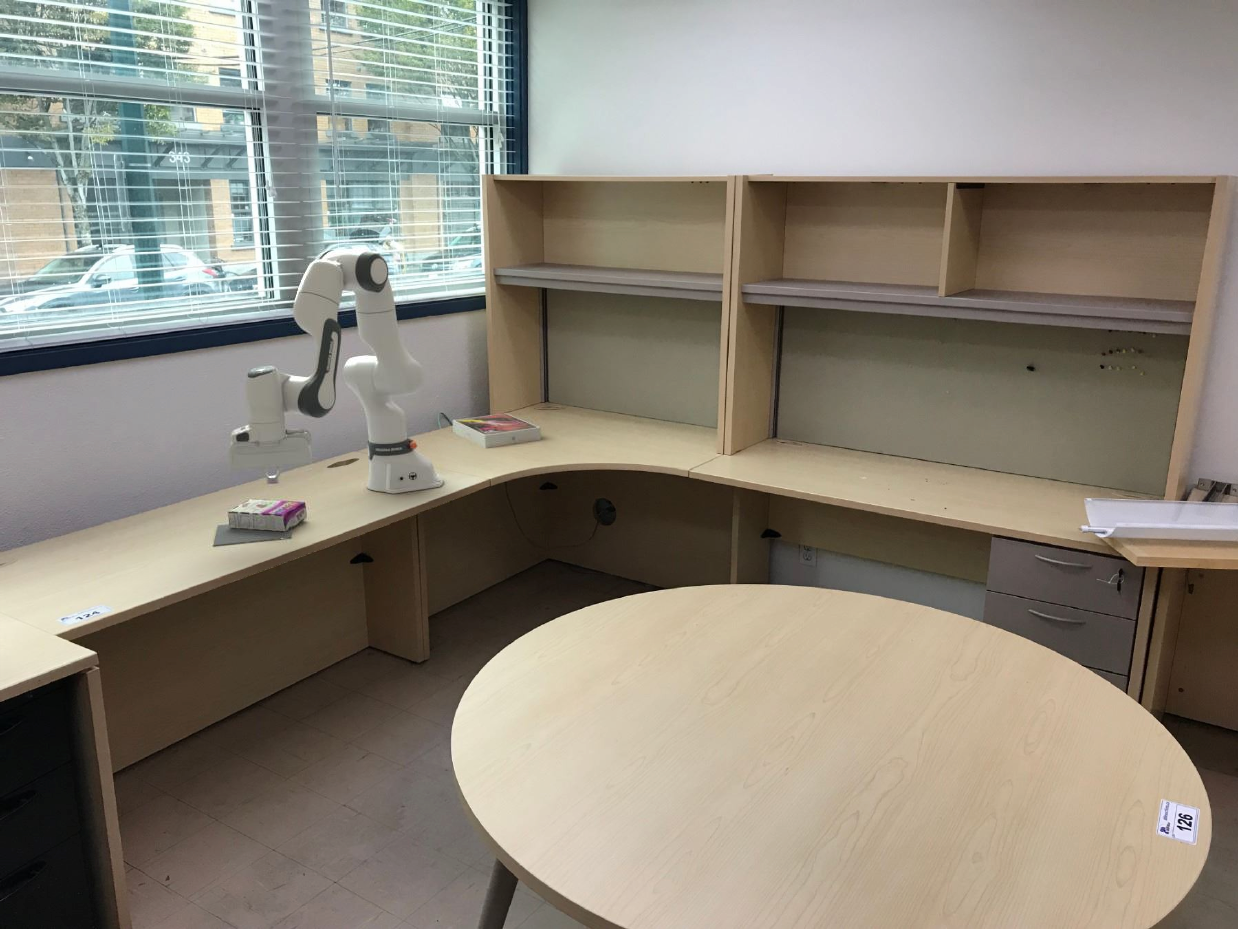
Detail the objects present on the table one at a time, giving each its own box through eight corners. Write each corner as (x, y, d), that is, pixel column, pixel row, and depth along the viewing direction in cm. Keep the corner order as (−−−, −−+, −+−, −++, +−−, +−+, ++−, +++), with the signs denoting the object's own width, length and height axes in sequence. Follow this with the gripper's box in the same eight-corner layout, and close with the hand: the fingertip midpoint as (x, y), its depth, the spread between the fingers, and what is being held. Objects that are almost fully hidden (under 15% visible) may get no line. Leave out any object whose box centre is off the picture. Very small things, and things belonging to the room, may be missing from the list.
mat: (291, 519, 262) (291, 518, 262) (291, 538, 247) (291, 537, 247) (218, 526, 256) (217, 525, 256) (213, 546, 242) (213, 545, 242)
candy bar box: (307, 519, 261) (253, 515, 264) (306, 501, 259) (251, 497, 263) (285, 533, 250) (228, 528, 254) (283, 515, 249) (226, 510, 252)
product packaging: (485, 449, 335) (484, 435, 334) (453, 433, 358) (452, 420, 357) (540, 441, 347) (540, 427, 345) (506, 426, 370) (505, 413, 368)
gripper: (310, 425, 252) (314, 476, 256) (226, 431, 246) (232, 483, 250) (310, 430, 247) (315, 483, 250) (224, 436, 241) (230, 490, 244)
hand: (273, 483), depth 250 cm, fingers closed
